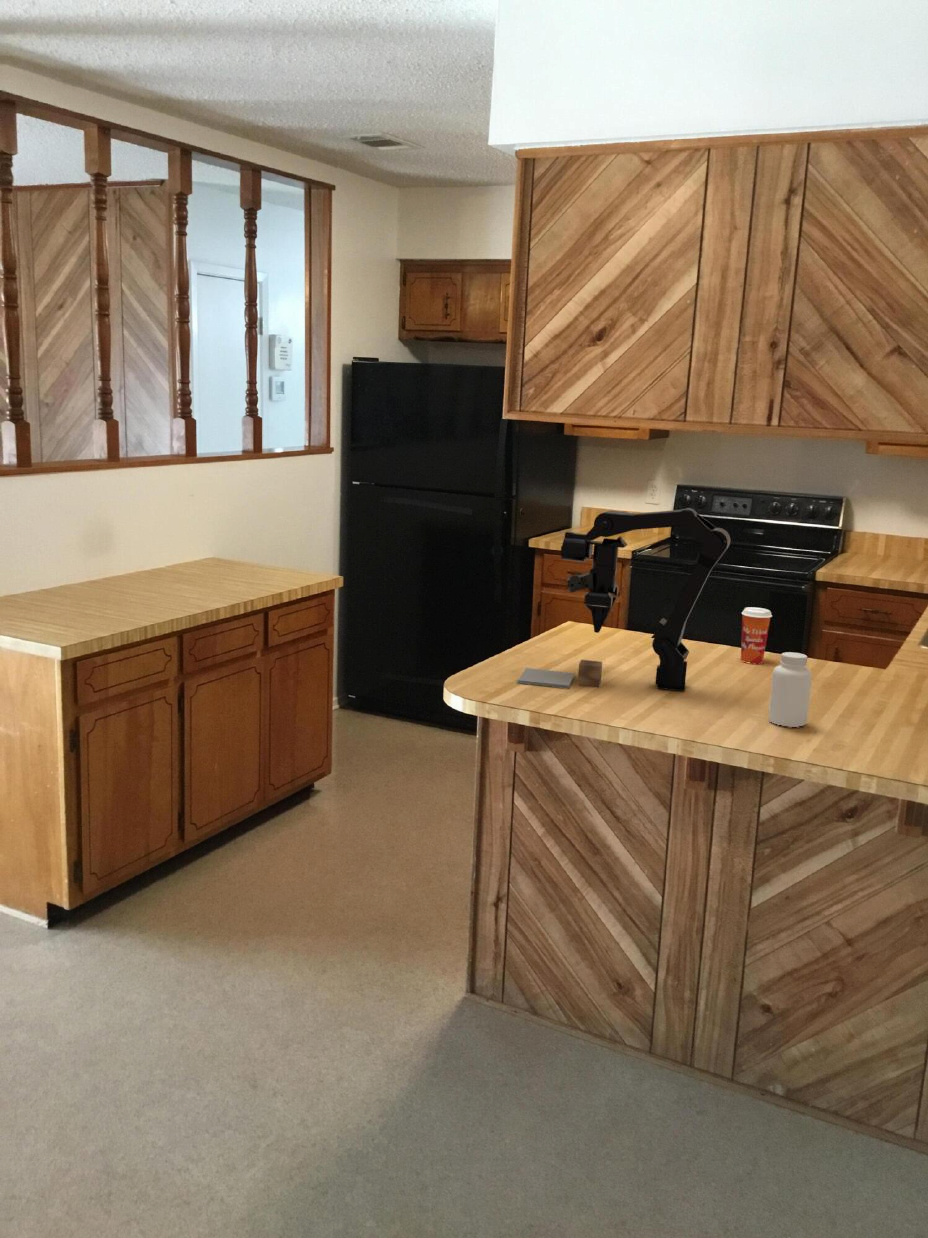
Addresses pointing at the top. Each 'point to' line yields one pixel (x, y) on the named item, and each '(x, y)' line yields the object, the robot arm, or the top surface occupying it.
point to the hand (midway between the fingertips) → (598, 628)
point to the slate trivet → (546, 678)
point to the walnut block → (589, 673)
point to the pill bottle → (790, 691)
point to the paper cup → (754, 634)
